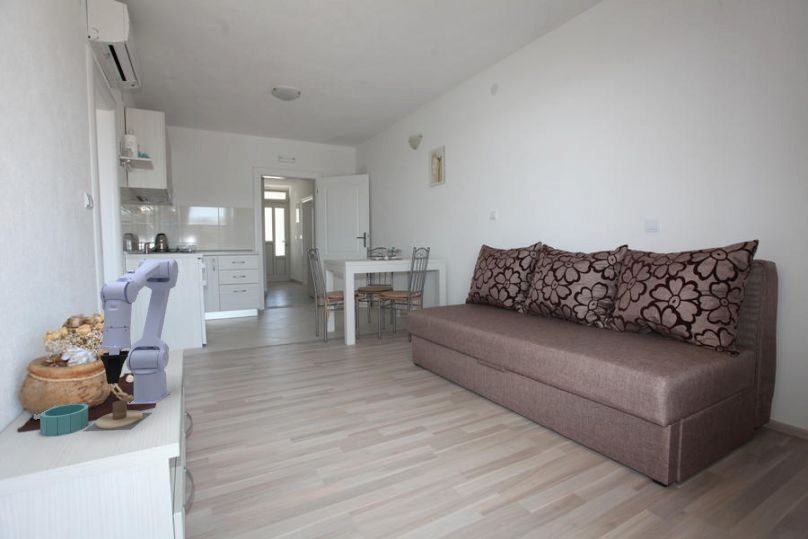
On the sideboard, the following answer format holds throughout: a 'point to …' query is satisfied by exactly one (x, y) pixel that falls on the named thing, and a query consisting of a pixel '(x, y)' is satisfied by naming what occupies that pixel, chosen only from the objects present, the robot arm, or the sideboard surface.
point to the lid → (119, 417)
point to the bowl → (63, 419)
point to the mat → (93, 428)
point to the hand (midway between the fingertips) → (113, 381)
